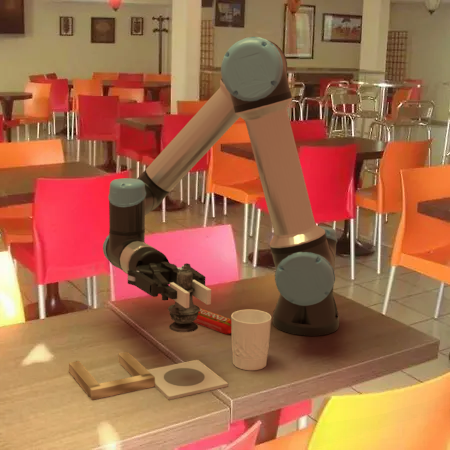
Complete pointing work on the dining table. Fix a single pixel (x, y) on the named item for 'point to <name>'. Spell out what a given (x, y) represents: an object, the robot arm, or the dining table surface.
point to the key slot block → (96, 390)
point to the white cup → (250, 338)
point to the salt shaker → (180, 314)
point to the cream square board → (186, 379)
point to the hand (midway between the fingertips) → (198, 298)
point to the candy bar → (213, 321)
